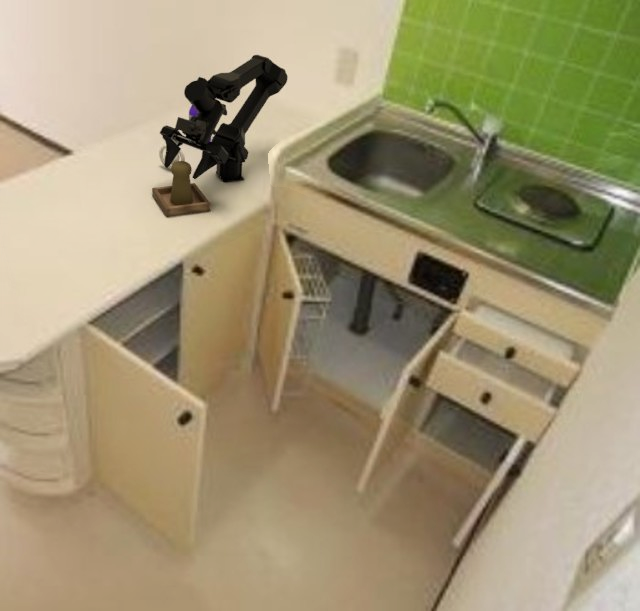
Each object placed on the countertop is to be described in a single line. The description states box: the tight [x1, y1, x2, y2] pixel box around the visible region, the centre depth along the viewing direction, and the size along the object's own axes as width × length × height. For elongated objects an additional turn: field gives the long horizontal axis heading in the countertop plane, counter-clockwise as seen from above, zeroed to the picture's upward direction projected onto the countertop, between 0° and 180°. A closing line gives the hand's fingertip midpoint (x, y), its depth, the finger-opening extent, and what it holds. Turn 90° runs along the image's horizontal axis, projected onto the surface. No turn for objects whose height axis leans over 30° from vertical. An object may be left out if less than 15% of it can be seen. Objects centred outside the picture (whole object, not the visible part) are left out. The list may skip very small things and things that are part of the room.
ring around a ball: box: [158, 143, 186, 170], centre depth 187 cm, size 8×6×8 cm
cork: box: [170, 160, 193, 206], centre depth 169 cm, size 6×6×11 cm
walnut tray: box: [151, 182, 211, 218], centre depth 172 cm, size 12×12×2 cm
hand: (179, 172), depth 167 cm, fingers open, 9 cm apart
